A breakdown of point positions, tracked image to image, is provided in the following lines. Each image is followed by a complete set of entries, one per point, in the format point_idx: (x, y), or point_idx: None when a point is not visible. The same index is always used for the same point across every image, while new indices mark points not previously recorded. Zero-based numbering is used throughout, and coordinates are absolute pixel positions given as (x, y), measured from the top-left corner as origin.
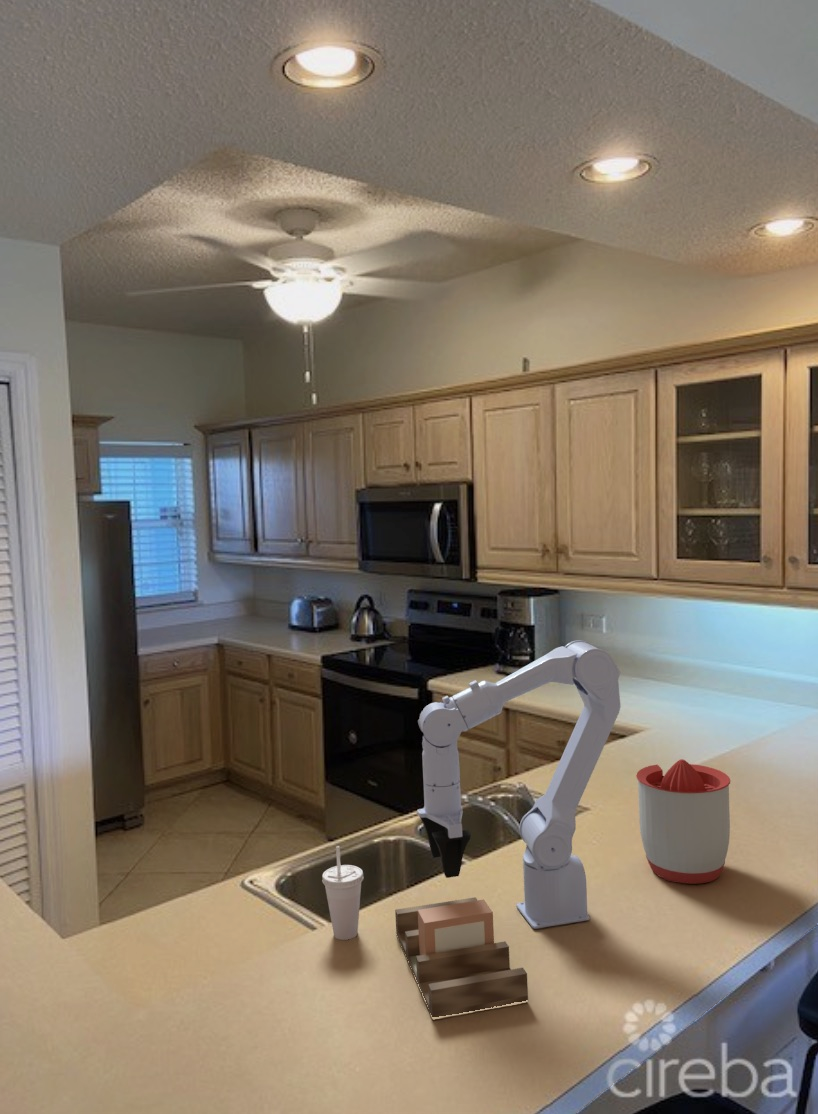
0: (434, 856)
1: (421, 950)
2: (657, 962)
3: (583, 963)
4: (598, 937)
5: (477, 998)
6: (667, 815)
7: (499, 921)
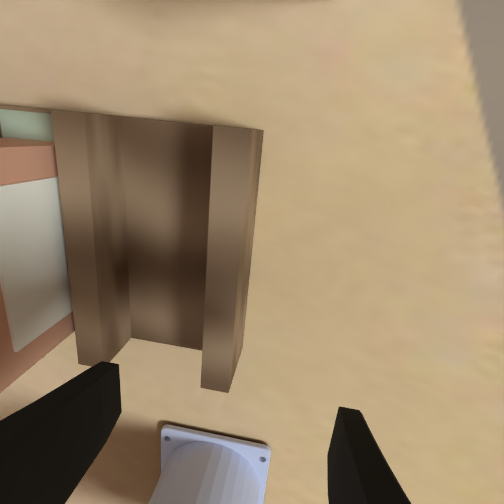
0: (337, 415)
1: (32, 142)
2: None
3: None
4: (110, 485)
5: None
6: None
7: None
